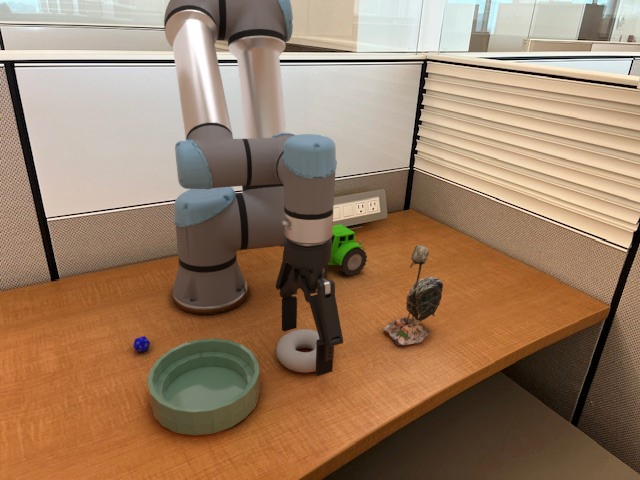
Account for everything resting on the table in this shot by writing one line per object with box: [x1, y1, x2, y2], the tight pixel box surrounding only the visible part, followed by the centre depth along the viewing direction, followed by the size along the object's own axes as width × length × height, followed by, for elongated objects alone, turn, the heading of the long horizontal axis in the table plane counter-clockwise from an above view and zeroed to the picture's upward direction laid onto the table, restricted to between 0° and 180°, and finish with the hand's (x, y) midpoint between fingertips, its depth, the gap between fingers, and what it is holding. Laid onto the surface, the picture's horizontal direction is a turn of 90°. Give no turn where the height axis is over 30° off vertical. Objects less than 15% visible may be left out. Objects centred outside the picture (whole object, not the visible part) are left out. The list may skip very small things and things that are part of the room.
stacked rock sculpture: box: [382, 244, 446, 346], centre depth 88 cm, size 8×11×20 cm
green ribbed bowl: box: [146, 337, 261, 436], centre depth 74 cm, size 16×16×5 cm
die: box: [132, 335, 151, 354], centre depth 84 cm, size 3×3×3 cm
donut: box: [275, 328, 319, 374], centre depth 84 cm, size 10×3×10 cm
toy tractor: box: [323, 223, 368, 278], centre depth 112 cm, size 11×16×10 cm
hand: (305, 349), depth 83 cm, fingers open, 13 cm apart
